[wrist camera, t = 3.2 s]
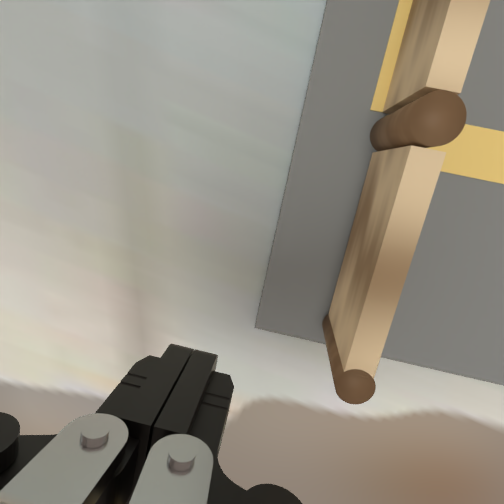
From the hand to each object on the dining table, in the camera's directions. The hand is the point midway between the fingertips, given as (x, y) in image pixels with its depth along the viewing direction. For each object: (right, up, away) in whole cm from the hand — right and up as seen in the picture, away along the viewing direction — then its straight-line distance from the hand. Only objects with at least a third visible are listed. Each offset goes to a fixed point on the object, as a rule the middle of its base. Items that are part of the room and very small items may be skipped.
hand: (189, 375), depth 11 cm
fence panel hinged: (+8, +4, +8) cm, 12 cm away
